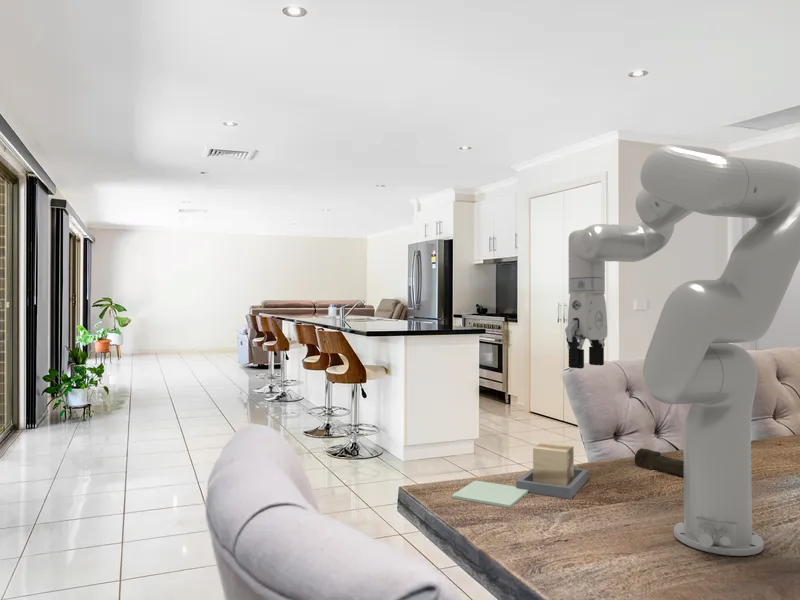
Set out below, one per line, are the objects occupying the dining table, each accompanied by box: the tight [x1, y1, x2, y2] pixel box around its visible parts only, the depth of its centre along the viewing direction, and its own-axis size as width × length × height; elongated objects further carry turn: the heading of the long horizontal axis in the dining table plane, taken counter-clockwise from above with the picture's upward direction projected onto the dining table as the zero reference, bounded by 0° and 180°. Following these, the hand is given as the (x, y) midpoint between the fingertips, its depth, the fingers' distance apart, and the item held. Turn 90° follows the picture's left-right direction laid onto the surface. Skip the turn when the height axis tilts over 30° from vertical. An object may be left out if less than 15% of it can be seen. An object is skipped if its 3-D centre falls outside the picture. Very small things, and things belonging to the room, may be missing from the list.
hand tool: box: [634, 447, 684, 477], centre depth 134 cm, size 19×4×5 cm, turn 32°
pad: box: [451, 480, 528, 509], centre depth 118 cm, size 12×12×1 cm
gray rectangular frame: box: [515, 467, 589, 500], centre depth 125 cm, size 16×11×2 cm
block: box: [532, 442, 575, 487], centre depth 125 cm, size 6×7×8 cm
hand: (586, 366), depth 127 cm, fingers open, 9 cm apart
